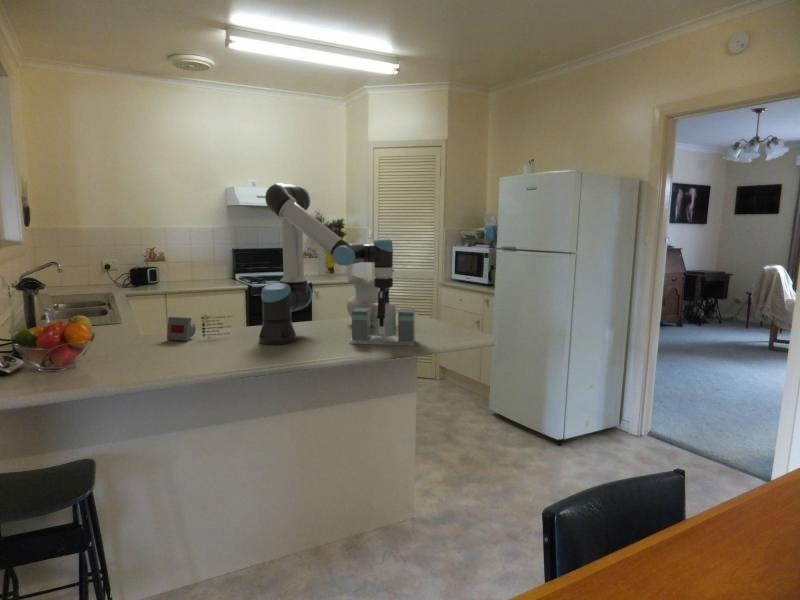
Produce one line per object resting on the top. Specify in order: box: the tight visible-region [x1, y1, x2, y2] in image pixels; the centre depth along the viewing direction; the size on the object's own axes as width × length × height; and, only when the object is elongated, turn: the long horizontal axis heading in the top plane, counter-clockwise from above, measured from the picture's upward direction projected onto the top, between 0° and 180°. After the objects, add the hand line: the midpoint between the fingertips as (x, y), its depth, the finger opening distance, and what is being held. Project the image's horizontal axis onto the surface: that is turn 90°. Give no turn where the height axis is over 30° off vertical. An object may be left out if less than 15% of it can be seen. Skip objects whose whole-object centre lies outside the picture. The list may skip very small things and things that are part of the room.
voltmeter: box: [166, 315, 234, 342], centre depth 218 cm, size 26×11×10 cm, turn 111°
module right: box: [397, 308, 416, 342], centre depth 210 cm, size 6×8×12 cm
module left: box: [351, 308, 371, 340], centre depth 212 cm, size 6×8×12 cm
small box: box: [371, 302, 397, 337], centre depth 211 cm, size 8×6×13 cm
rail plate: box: [349, 335, 416, 347], centre depth 212 cm, size 26×9×2 cm, turn 83°
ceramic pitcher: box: [346, 274, 391, 327], centre depth 247 cm, size 22×20×25 cm
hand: (383, 331), depth 212 cm, fingers closed on small box, 10 cm apart
